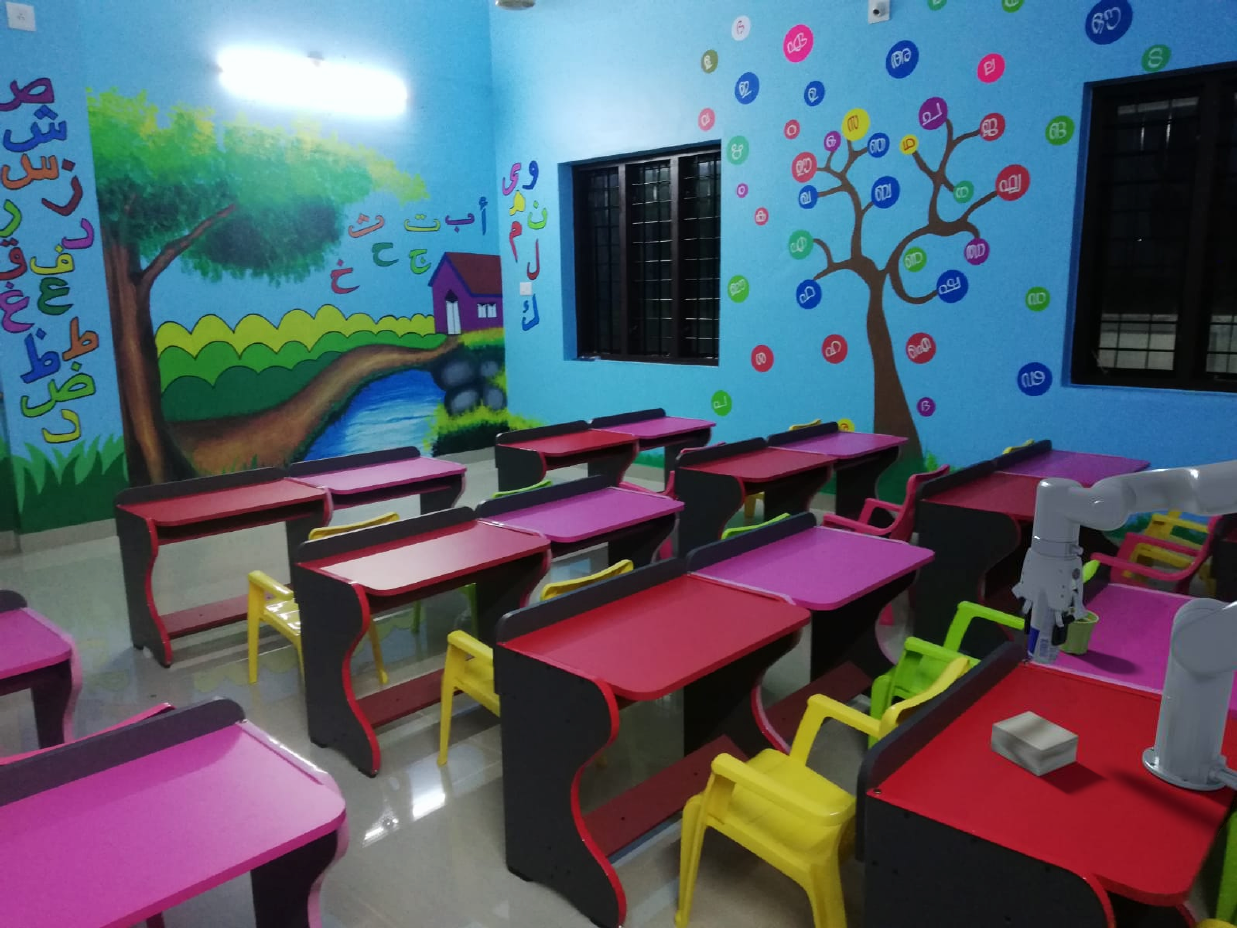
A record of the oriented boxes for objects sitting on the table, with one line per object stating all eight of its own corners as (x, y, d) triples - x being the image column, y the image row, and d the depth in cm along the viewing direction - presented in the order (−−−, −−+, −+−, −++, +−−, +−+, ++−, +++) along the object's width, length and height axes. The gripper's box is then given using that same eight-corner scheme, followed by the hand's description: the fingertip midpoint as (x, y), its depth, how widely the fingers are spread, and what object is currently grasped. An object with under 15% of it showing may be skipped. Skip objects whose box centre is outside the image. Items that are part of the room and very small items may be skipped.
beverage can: (1051, 654, 166) (1059, 580, 163) (1061, 666, 161) (1070, 589, 158) (1023, 653, 167) (1030, 579, 163) (1032, 665, 162) (1040, 589, 158)
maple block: (1075, 761, 156) (1078, 735, 155) (1038, 776, 152) (1041, 750, 151) (1026, 735, 165) (1029, 711, 164) (990, 748, 160) (992, 724, 159)
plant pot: (1039, 645, 204) (1043, 610, 202) (1067, 638, 208) (1071, 603, 206) (1075, 661, 195) (1079, 625, 194) (1103, 653, 199) (1108, 618, 197)
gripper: (1111, 555, 153) (1100, 651, 157) (1026, 531, 168) (1018, 619, 172) (1084, 562, 150) (1073, 660, 154) (1000, 536, 164) (992, 626, 168)
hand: (1044, 637), depth 163 cm, fingers closed on beverage can, 5 cm apart
